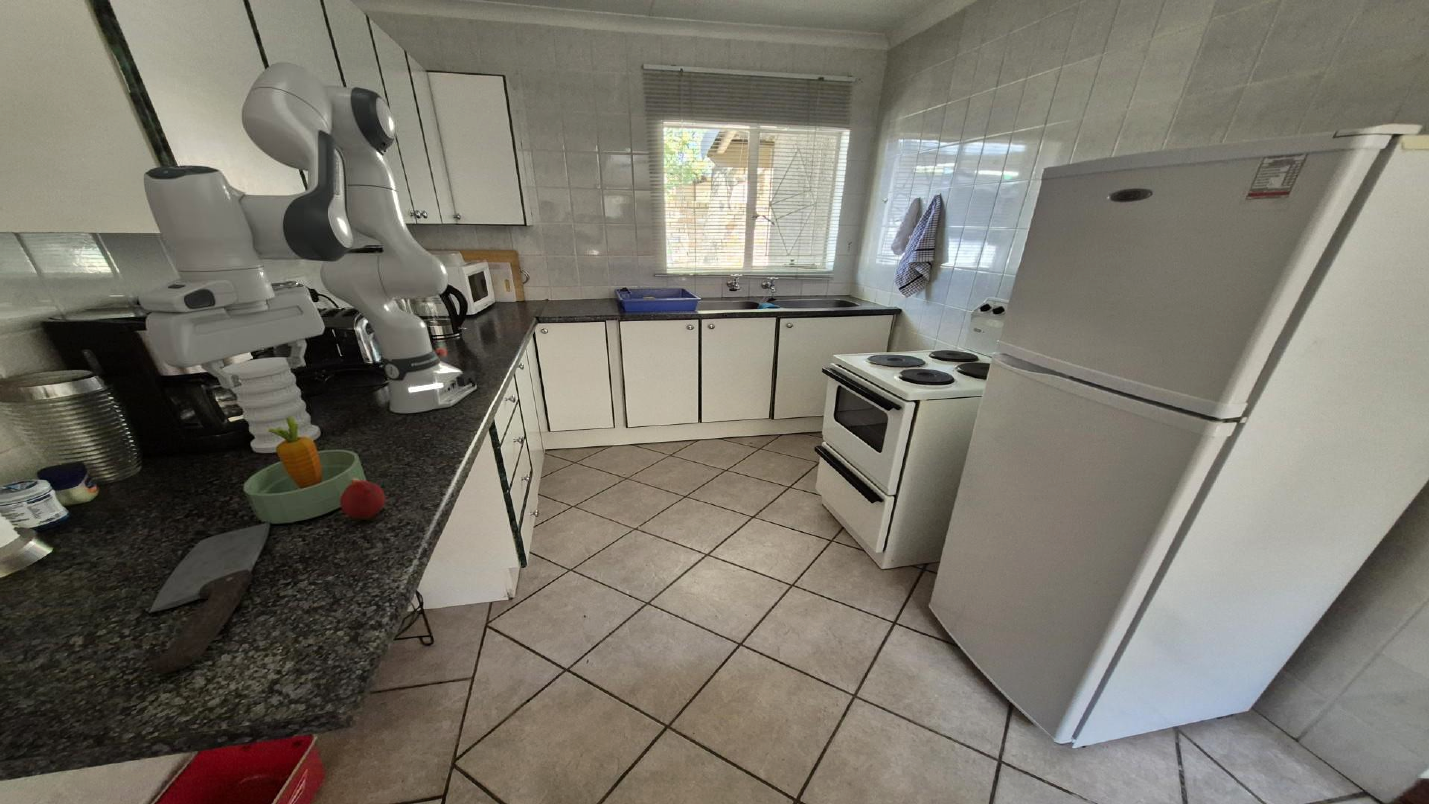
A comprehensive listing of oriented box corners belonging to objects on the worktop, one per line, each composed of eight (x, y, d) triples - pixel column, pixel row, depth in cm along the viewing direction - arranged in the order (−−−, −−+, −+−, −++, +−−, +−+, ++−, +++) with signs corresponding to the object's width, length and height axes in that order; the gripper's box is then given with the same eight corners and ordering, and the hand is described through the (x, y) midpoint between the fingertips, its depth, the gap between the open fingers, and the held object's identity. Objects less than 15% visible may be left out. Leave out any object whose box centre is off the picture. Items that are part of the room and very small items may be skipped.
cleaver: (224, 657, 51) (217, 644, 50) (93, 704, 46) (82, 690, 45) (276, 524, 74) (271, 513, 73) (191, 546, 69) (185, 535, 68)
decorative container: (238, 449, 97) (202, 370, 90) (297, 426, 107) (269, 355, 101) (277, 456, 94) (243, 376, 87) (333, 432, 105) (306, 359, 98)
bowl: (323, 472, 88) (313, 446, 86) (388, 481, 86) (379, 454, 83) (233, 519, 75) (218, 489, 72) (306, 532, 72) (293, 501, 70)
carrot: (312, 506, 77) (280, 428, 71) (289, 502, 78) (256, 425, 72) (340, 490, 82) (312, 415, 76) (318, 487, 83) (289, 413, 77)
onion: (386, 504, 79) (373, 465, 76) (393, 518, 75) (380, 478, 72) (345, 518, 75) (330, 477, 72) (350, 534, 71) (335, 492, 68)
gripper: (288, 278, 76) (316, 356, 81) (119, 299, 57) (170, 398, 63) (319, 279, 75) (345, 358, 80) (156, 301, 56) (204, 402, 62)
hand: (267, 376), depth 71 cm, fingers open, 8 cm apart
